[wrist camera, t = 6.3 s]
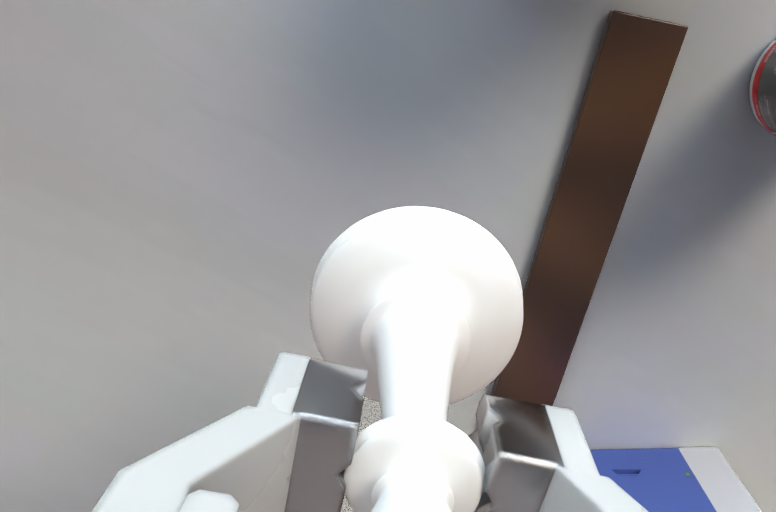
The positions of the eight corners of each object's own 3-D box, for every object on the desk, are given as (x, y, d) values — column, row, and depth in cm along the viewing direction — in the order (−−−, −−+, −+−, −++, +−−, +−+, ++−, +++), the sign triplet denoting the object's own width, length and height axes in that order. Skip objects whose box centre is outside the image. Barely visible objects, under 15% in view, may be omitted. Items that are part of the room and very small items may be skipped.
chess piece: (287, 360, 15) (64, 942, 6) (346, 174, 13) (162, 580, 4) (475, 418, 15) (562, 1056, 6) (558, 246, 13) (870, 777, 4)
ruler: (610, 10, 24) (613, 10, 23) (683, 26, 24) (689, 26, 23) (463, 481, 32) (464, 488, 32) (518, 492, 33) (519, 498, 32)
